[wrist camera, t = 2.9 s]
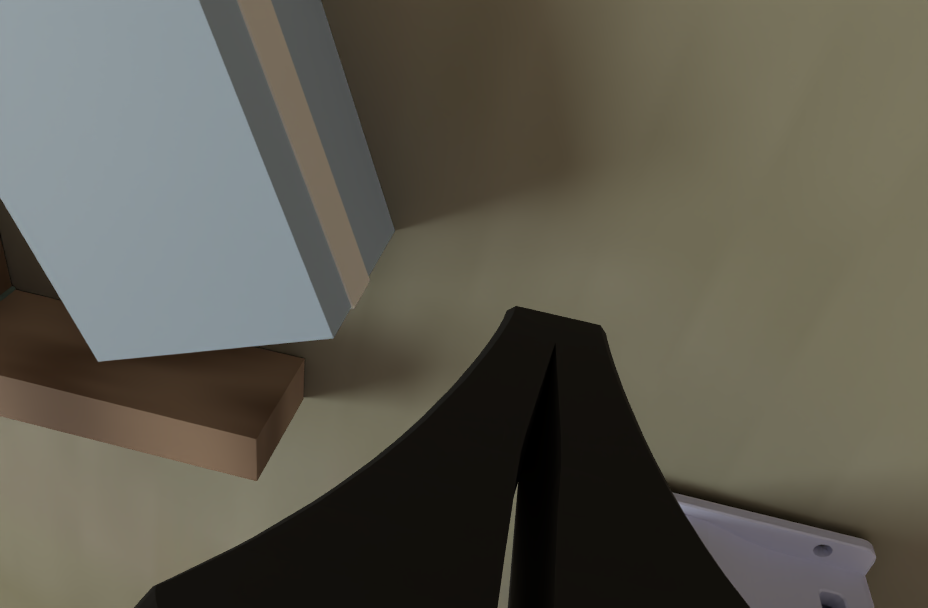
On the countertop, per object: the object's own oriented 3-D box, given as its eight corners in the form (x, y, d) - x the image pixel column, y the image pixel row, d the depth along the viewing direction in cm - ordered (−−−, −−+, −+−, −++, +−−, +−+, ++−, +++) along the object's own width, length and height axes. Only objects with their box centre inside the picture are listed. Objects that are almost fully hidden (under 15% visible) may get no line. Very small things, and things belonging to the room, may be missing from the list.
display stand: (322, -197, 15) (220, -198, 11) (303, 401, 24) (242, 508, 20) (-195, -291, 16) (-445, -319, 12) (-27, 320, 25) (-142, 410, 21)
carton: (289, -114, 16) (168, -84, 12) (398, 229, 20) (336, 340, 16) (56, -45, 18) (-120, 1, 14) (199, 257, 22) (97, 363, 18)
